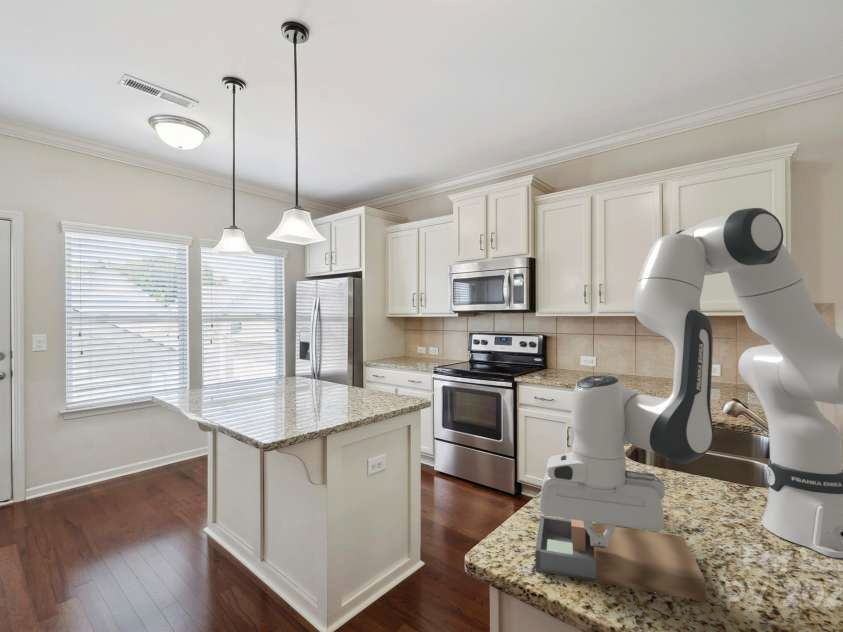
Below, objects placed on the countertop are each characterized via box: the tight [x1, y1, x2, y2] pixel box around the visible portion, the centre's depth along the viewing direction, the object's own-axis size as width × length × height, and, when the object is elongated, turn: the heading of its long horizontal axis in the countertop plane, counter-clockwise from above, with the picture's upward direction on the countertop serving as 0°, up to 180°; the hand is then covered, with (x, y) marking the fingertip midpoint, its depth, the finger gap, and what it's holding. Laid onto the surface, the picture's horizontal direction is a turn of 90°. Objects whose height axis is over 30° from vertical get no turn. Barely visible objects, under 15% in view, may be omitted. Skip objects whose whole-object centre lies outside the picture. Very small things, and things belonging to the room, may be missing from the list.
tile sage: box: [547, 539, 573, 555], centre depth 76 cm, size 4×4×2 cm
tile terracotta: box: [570, 519, 586, 552], centre depth 81 cm, size 4×4×2 cm
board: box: [592, 522, 707, 603], centre depth 74 cm, size 16×14×4 cm
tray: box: [534, 515, 597, 583], centre depth 79 cm, size 10×14×4 cm
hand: (599, 545), depth 73 cm, fingers closed
